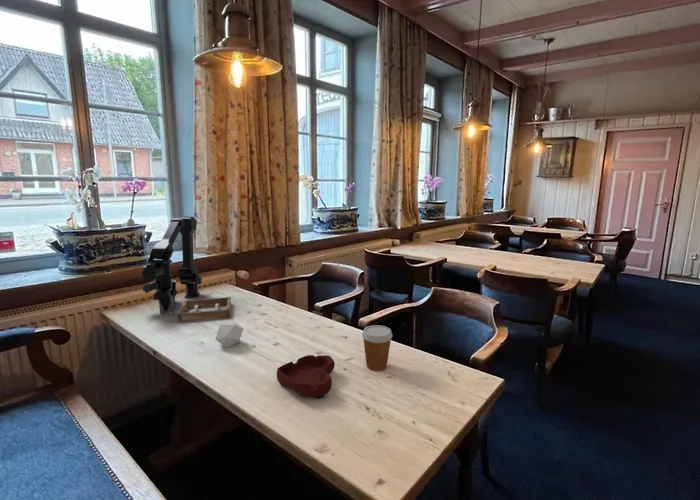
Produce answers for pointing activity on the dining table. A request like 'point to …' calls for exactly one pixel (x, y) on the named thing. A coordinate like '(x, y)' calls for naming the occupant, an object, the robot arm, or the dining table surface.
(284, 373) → the ashtray
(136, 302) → the dining table surface
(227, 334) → the die
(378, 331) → the disposable coffee cup
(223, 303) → the wooden serving tray
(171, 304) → the grey block
